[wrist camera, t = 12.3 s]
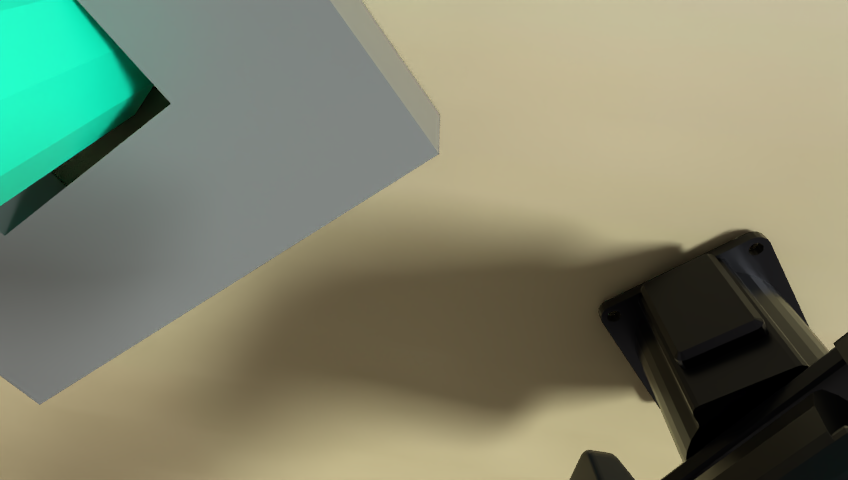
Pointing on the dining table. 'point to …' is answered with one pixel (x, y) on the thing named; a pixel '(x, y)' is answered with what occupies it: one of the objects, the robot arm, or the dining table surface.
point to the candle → (57, 88)
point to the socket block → (204, 173)
